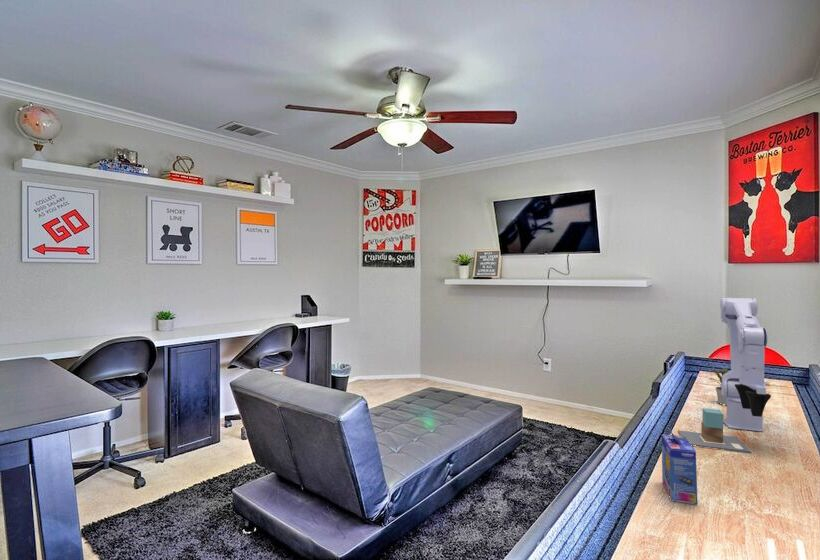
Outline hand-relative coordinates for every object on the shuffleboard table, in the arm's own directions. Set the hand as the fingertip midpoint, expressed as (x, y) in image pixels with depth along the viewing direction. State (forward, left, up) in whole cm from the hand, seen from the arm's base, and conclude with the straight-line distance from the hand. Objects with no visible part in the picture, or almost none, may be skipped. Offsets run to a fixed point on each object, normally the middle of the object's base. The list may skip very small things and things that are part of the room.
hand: (751, 412), depth 129 cm
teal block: (+10, 0, -5) cm, 11 cm away
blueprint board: (+10, 0, -10) cm, 14 cm away
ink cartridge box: (+27, +40, -11) cm, 49 cm away
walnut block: (+10, 0, -10) cm, 14 cm away
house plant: (-6, -48, -11) cm, 50 cm away
